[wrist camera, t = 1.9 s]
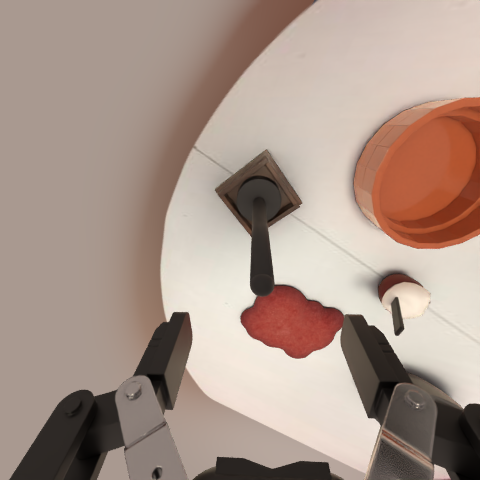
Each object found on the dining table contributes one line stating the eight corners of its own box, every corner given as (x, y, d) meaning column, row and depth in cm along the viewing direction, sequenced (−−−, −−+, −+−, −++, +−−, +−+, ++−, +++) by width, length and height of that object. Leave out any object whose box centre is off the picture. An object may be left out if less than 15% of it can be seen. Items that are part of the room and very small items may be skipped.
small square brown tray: (215, 188, 36) (212, 193, 34) (266, 149, 33) (267, 151, 31) (251, 234, 39) (251, 242, 36) (301, 201, 36) (305, 207, 34)
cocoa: (424, 285, 41) (485, 343, 30) (393, 308, 43) (439, 370, 33) (386, 254, 39) (436, 304, 28) (355, 280, 41) (390, 335, 31)
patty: (353, 316, 45) (357, 325, 43) (306, 361, 50) (308, 370, 48) (271, 273, 42) (272, 280, 40) (231, 325, 47) (230, 333, 45)
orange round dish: (330, 159, 33) (346, 167, 28) (461, 69, 28) (515, 55, 23) (382, 248, 39) (405, 270, 33) (501, 185, 34) (553, 198, 28)
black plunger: (229, 192, 35) (195, 281, 15) (264, 166, 34) (276, 230, 14) (253, 224, 37) (251, 340, 17) (287, 201, 35) (329, 301, 16)
